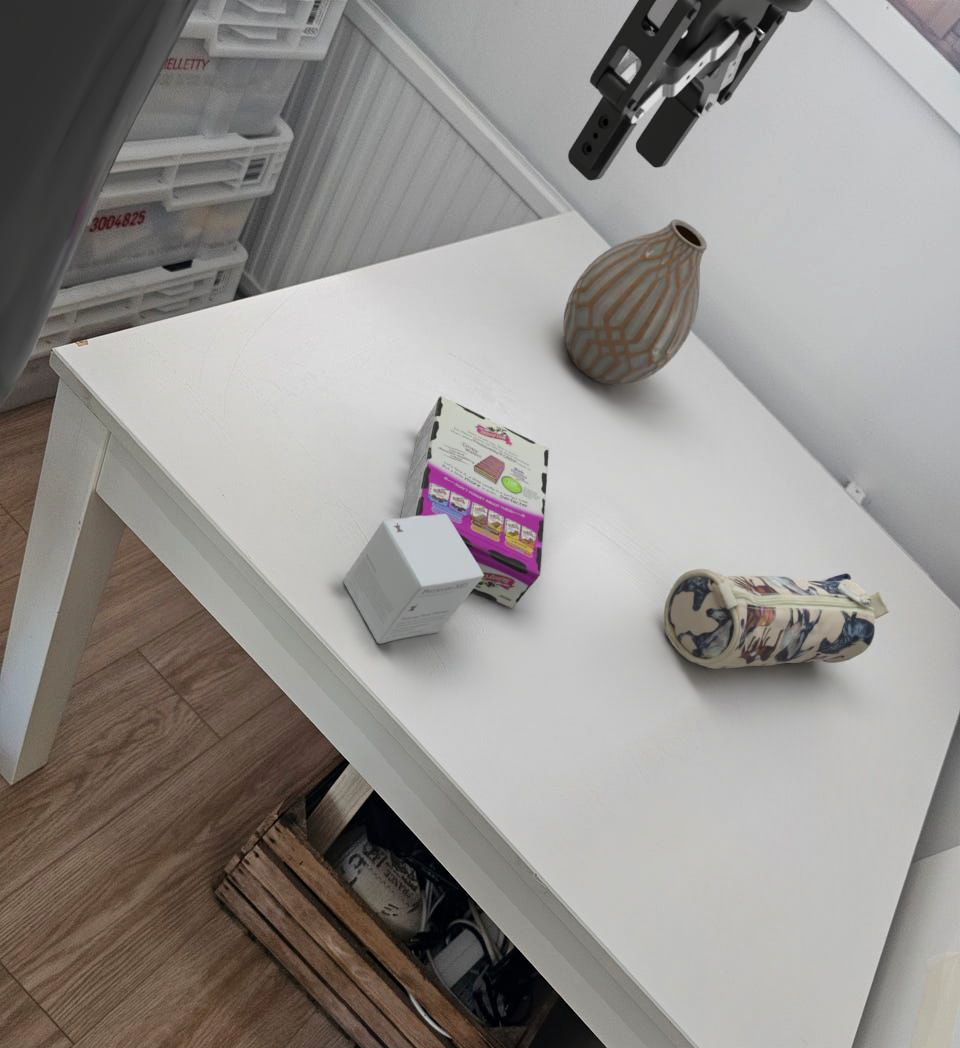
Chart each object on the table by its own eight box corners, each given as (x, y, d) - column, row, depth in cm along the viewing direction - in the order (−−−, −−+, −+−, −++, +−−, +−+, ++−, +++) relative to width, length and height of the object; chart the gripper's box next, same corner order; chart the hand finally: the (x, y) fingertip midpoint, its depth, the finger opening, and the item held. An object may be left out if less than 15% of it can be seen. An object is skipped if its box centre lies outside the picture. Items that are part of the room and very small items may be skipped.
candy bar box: (510, 613, 85) (524, 484, 96) (541, 577, 81) (553, 447, 92) (387, 557, 81) (416, 430, 92) (414, 517, 78) (441, 390, 89)
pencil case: (791, 611, 106) (861, 552, 100) (831, 681, 102) (906, 625, 96) (637, 608, 94) (705, 541, 87) (676, 688, 90) (750, 624, 83)
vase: (527, 349, 110) (622, 211, 98) (562, 305, 120) (652, 175, 108) (625, 423, 111) (730, 296, 100) (652, 374, 121) (750, 253, 109)
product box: (375, 646, 75) (420, 587, 70) (339, 580, 77) (380, 517, 72) (440, 633, 79) (486, 576, 74) (404, 570, 81) (447, 510, 76)
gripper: (799, -156, 55) (625, 116, 66) (694, -205, 45) (507, 128, 56) (902, -65, 55) (707, 195, 66) (818, -93, 44) (604, 222, 55)
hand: (616, 164), depth 61 cm, fingers open, 8 cm apart
